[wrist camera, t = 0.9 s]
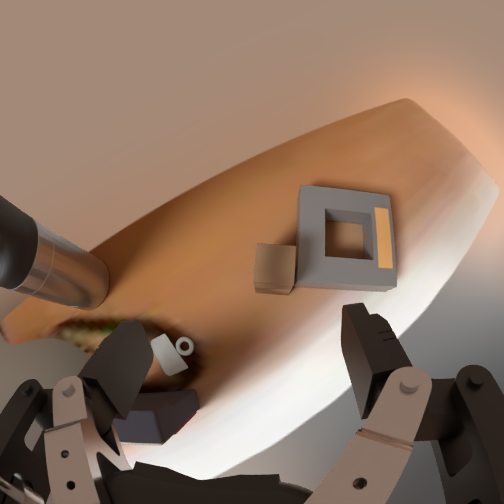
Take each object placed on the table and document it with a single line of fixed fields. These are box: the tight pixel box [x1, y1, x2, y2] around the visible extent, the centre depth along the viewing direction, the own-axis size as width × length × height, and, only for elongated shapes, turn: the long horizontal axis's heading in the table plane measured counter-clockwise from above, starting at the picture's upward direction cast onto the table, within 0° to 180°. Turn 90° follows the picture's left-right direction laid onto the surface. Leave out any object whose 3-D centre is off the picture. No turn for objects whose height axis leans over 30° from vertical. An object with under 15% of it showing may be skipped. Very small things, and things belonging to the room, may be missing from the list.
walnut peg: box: [253, 243, 296, 295], centre depth 35 cm, size 4×4×8 cm
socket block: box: [294, 185, 397, 292], centre depth 37 cm, size 14×14×4 cm
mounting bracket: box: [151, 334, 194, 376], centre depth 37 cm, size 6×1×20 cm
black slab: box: [112, 389, 200, 445], centre depth 26 cm, size 11×4×15 cm, turn 102°
